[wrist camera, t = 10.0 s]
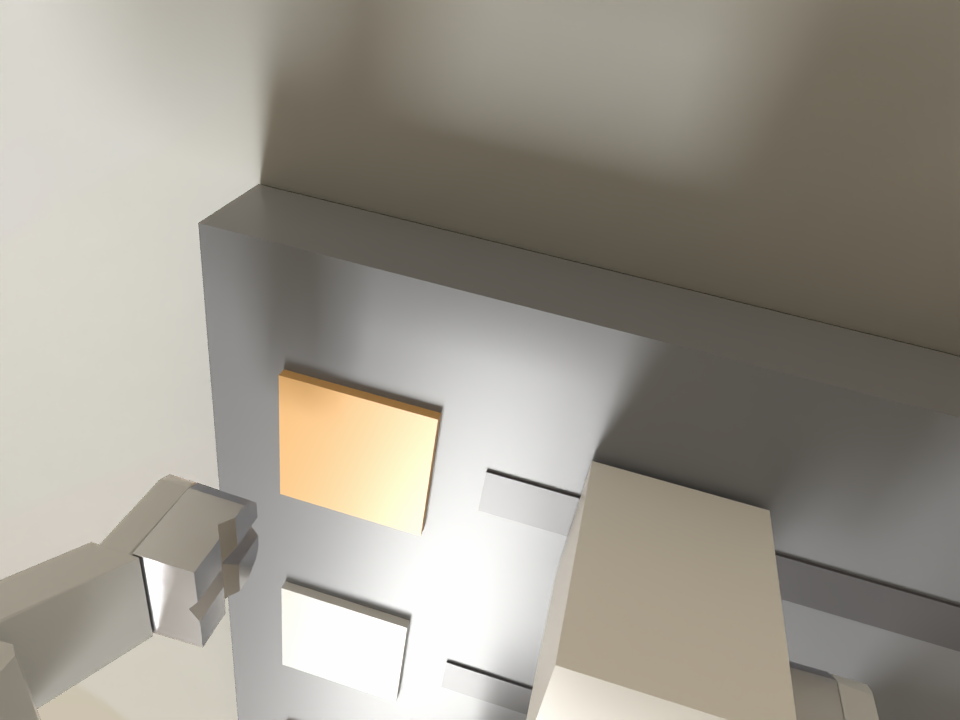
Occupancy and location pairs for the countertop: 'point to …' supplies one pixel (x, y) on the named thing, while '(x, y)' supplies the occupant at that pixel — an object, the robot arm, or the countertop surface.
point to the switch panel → (545, 460)
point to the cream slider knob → (663, 609)
